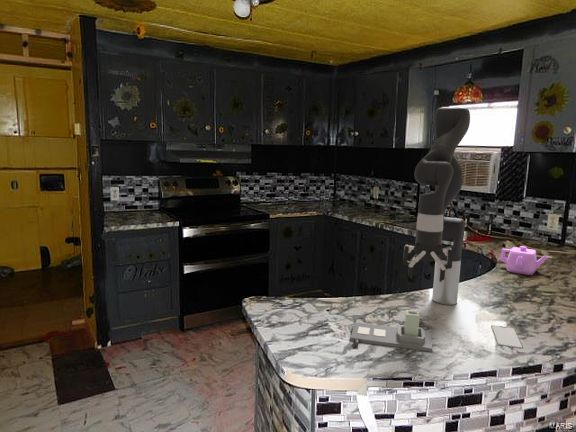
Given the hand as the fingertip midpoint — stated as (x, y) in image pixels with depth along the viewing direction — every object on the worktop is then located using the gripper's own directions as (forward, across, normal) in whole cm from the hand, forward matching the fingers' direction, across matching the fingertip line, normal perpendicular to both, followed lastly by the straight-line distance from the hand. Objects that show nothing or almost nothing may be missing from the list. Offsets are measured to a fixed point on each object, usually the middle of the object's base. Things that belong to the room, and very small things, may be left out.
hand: (425, 279), depth 129 cm
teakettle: (+22, -52, -96) cm, 111 cm away
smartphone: (+20, -26, -10) cm, 35 cm away
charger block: (+18, +3, +3) cm, 19 cm away
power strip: (+19, +9, +5) cm, 22 cm away
